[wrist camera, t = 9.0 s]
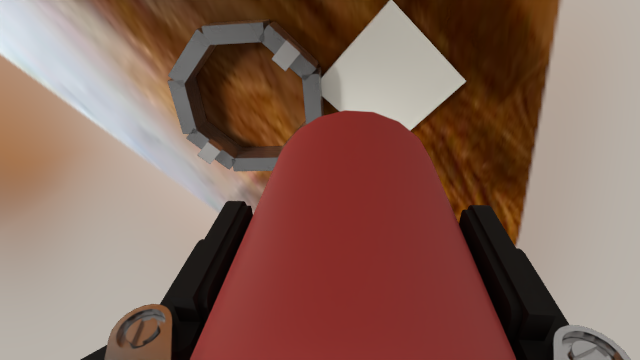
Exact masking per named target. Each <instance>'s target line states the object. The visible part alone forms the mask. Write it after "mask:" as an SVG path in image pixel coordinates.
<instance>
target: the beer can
mask: <svg viewBox="0 0 640 360" xmlns="http://www.w3.org/2000/svg"><path fill="white" fill-rule="evenodd" d="M190 360H516V357H515V355H514V353H513V350H512V348H511V346H510V343H509V341H508V339H507V336H506V334H505V332H504V329H503V327H502V325H501V322H500V320H499V318H498V315H497V313H496V311H495V308H494V306H493V304H492V301H491V299H490V297H489V294H488V292H487V289H486V287H485V285H484V282H483V280H482V278H481V275H480V273H479V271H478V268H477V266H476V264H475V261H474V259H473V257H472V254H471V252H470V250H469V247H468V245H467V243H466V240H465V238H464V236H463V233H462V231H461V229H460V226H459V224H458V222H457V219H456V217H455V215H454V212H453V210H452V208H451V205H450V203H449V201H448V198H447V196H446V194H445V191H444V189H443V187H442V184H441V182H440V179H439V177H438V175H437V172H436V170H435V168H434V165H433V163H432V161H431V159H430V157H429V155H428V153H427V152H426V150H425V148H424V146H423V145H422V143H421V141H420V139H419V138H418V137H417V136H416V135H414V134H413V133H412V132H411V131H410V130H408V129H407V128H406V127H405V126H404V125H402V124H401V123H400V122H398V121H396V120H393V119H390V118H388V117H385V116H383V115H380V114H378V113H375V112H365V111H349V110H345V111H341V112H337V113H333V114H329V115H325V116H321V117H318V118H317V119H315V120H313V121H312V122H310V123H308V124H307V125H305V126H304V127H302V128H300V129H299V130H297V131H296V133H295V134H294V135H293V136H292V138H291V139H290V140H289V141H288V143H287V144H286V145H285V146H284V148H283V149H282V151H281V153H280V155H279V158H278V160H277V162H276V165H275V167H274V169H273V171H272V174H271V176H270V178H269V180H268V183H267V185H266V187H265V190H264V192H263V194H262V196H261V199H260V201H259V203H258V206H257V208H256V210H255V212H254V215H253V217H252V219H251V221H250V224H249V226H248V228H247V231H246V233H245V235H244V237H243V240H242V242H241V244H240V246H239V249H238V251H237V253H236V256H235V258H234V260H233V262H232V265H231V267H230V269H229V271H228V274H227V276H226V278H225V281H224V283H223V285H222V287H221V290H220V292H219V294H218V296H217V299H216V301H215V303H214V306H213V308H212V310H211V312H210V315H209V317H208V319H207V322H206V324H205V326H204V328H203V331H202V333H201V335H200V337H199V340H198V342H197V344H196V347H195V349H194V351H193V353H192V356H191V358H190Z"/></svg>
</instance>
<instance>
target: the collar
mask: <svg viewBox="0 0 640 360" xmlns="http://www.w3.org/2000/svg"><path fill="white" fill-rule="evenodd" d="M252 42H262V43H263V44H264V45H265V46H266V47H267V48H268V49H270V50H271V51H272V52H273V53H274V54H275V55H274V57H273V58H272V60H273V61H274V62H276V63H277V64H278V65H279V66H280V67H281V68H282V69H283V70H285V71H286V70H287V69H288V67H290V68H291V69H292V70H293V71H294V72H295V73H296V74H298V75H299V76H300V77H301V78H302V82H303V93H304V104H305V116H306V121H305V122H304V123H303V124H302V125H301V127H300V128H302V127H304V126H305V125H307V124H308V123H310V122H312V121H313V120H315V119H317V118H318V117H321V116H324V107H323V96H322V86H321V77H322V74H321V67H317V65H318V63H319V62H318V61H317V60H316V59H315V58H314V57H313V56H312V55H311V54H310V53H309V52H308V51H306V50H305V49H304V48H303V47H302V46H301V45H300V44H299V43H298V42H297V41H296V40H295V39H294V38H292V37H291V36H290V35H289V34H288V33H287V32H286V31H285V30H284V29H283V28H282V27H281V26H280V25H279V24H277V23H276V22H275V21H274V22H272V23H270V19H262V20H246V21H231V22H215V23H210V24H207V25H204V26H202V28H199V29H197V30H196V31H195V33H194V34H193V36H192V38H191V39H190V41H189V43H188V44H187V46H186V47H185V49H184V51H183V52H182V54H181V56H180V57H179V59H178V60H177V62H176V64H175V65H174V67H173V69H172V70H171V72H170V73H169V75H168V76H169V77H170V78H172V79H170V80H168V84H169V88H170V91H171V94H172V98H173V101H174V105H175V108H176V111H177V115H178V118H179V122H180V125H181V129H182V132H183V134H189V135H188V136H187V139H188V140H189V141H191V142H192V143H193V144H195V145H196V146H198V147H199V148H200V149H202V150H201V151H200V153H199V154H198V156H199V157H201V158H202V159H203V160H205V161H206V162H208V163H209V164H211V162H212V161H213V160H214V159H215V160H217V161H218V162H219V163H221V164H222V165H223V166H225V167H226V168H228V169H230V168H231V167H232V166H233V169H234V171H273V169H274V167H275V165H276V162H277V160H278V158H279V155H280V153H281V151H282V149H283V148H284V146H285V145H286V144H287V143H288V141H289V140H290V139H291V138H292V136H293V135H294V134H295V133H296V132H295V133H294V134H293V135H292V136H291V137H290V138H289V140H288V141H287V142H286V143H285V144H284V145H283V146H266V147H241V146H240V145H238V144H237V143H236V142H234V141H233V140H232V139H231V138H229V137H228V136H227V135H225V134H224V133H223V132H221V131H220V130H219V129H218V128H216V127H215V126H214V125H212V124H211V123H210V122H208V121H207V119H206V115H205V111H204V107H203V103H202V99H201V95H200V91H199V87H198V83H197V79H196V76H197V74H198V73H199V71H200V70H201V68H202V67H203V65H204V64H205V62H206V61H207V59H208V58H209V56H210V55H211V53H212V52H213V50H214V49H215V47H216V46H217V44H235V43H252ZM300 128H299V129H300ZM299 129H298V130H299Z"/></svg>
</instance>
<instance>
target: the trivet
mask: <svg viewBox="0 0 640 360" xmlns="http://www.w3.org/2000/svg"><path fill="white" fill-rule="evenodd" d="M465 82H466V80H465V79H464V78H463V77H462V76H461V75H460V74H459V73H458V72H457V71H456V70H455V68H454V67H453V66H452V65H451V64H450V63H449V62H448V61H447V60H446V59H445V57H444V56H443V55H442V54H441V53H440V52H439V51H438V50H437V49H436V48H435V47H434V45H433V44H432V43H431V42H430V41H429V40H428V39H427V38H426V37H425V36H424V34H423V33H422V32H421V31H420V30H419V29H418V28H417V27H416V26H415V25H414V23H413V22H412V21H411V20H410V19H409V18H408V17H407V16H406V15H405V14H404V13H403V11H402V10H401V9H400V8H399V7H398V6H397V5H396V4H395V3H394V2H393V0H389V1H388V2H387V3H386V4H385V6H384V7H383V8H382V9H381V10H380V11H379V12H378V13H377V15H376V16H375V17H374V18H373V19H372V20H371V21H370V23H369V24H368V25H367V26H366V27H365V28H364V29H363V31H362V32H361V33H360V34H359V35H358V36H357V37H356V38H355V40H354V41H353V42H352V43H351V44H350V45H349V46H348V48H347V49H346V50H345V51H344V52H343V53H342V54H341V56H340V57H339V58H338V59H337V60H336V61H335V62H334V63H333V65H332V66H331V67H330V68H329V69H328V70H327V71H326V73H325V74H324V75H323V76H322V77H321V86H322V96H323V97H324V98H325V99H326V100H327V101H328V102H330V103H331V104H332V105H333V106H334V107H335V108H336V109H337V110H338V111H340V112H341V111H345V110H349V111H365V112H375V113H378V114H380V115H383V116H385V117H388V118H390V119H393V120H396V121H398V122H400V123H401V124H402V125H404V126H405V127H406V128H407V129H408V130H411V129H413V128H414V127H415V126H416V125H417V124H418V123H419V122H421V121H422V120H423V119H424V118H425V117H426V116H427V115H429V114H430V113H431V112H432V111H433V110H434V109H435V108H436V107H438V106H439V105H440V104H441V103H442V102H443V101H444V100H446V99H447V98H448V97H449V96H450V95H451V94H452V93H454V92H455V91H456V90H457V89H458V88H459V87H460V86H461V85H463V84H464V83H465Z"/></svg>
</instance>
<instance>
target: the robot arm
mask: <svg viewBox="0 0 640 360" xmlns="http://www.w3.org/2000/svg"><path fill="white" fill-rule="evenodd" d="M252 217H253V213H252V208H251V206H247V205H246V203H245V202H244V201H227V202H226V203H225V205H224V207H223V208H222V210H221V212H220V214H219V215H218V217H217V219H216V220H215V222H214V224H213V225H212V227H211V229H210V231H209V232H208V234H207V236H206V237H205V239H202V240H200V241H199V242H198V243H197V244H196V246H195V247H194V249H193V251H192V252H191V254H190V256H189V257H188V259H187V261H186V262H185V264H184V266H183V267H182V269H181V270H180V272H179V274H178V276H177V277H176V279H175V280H174V282H173V284H172V285H171V287H170V289H169V290H168V292H167V293H166V295H165V297H164V298H163V300H162V302H161V303H160V305H158V304H150V305H144V306H142V307H139V308H136V309H134V310H133V311H131V312H129V313H128V314H126V315H125V316H124V317H123V318H121V319H120V320H119V321H118V323H117V324H116V325H115V327H114V328H113V329H112V331H111V334H110V336H109V340H108V345H106V346H104V347H102V348H101V349H99V350H97V351H95V352H93V353H92V354H90V355H88V356H86V357H84V358H83V359H81V360H190V358H191V356H192V353H193V351H194V349H195V347H196V344H197V342H198V340H199V337H200V335H201V333H202V331H203V328H204V326H205V324H206V322H207V319H208V317H209V315H210V312H211V310H212V308H213V306H214V303H215V301H216V299H217V296H218V294H219V292H220V290H221V287H222V285H223V283H224V281H225V278H226V276H227V274H228V271H229V269H230V267H231V265H232V262H233V260H234V258H235V256H236V253H237V251H238V249H239V246H240V244H241V242H242V240H243V237H244V235H245V233H246V231H247V228H248V226H249V224H250V221H251V219H252ZM459 226H460V229H461V231H462V233H463V236H464V238H465V240H466V243H467V245H468V247H469V250H470V252H471V254H472V257H473V259H474V261H475V264H476V266H477V268H478V271H479V273H480V275H481V278H482V280H483V282H484V285H485V287H486V289H487V292H488V294H489V297H490V299H491V301H492V304H493V306H494V308H495V311H496V313H497V315H498V318H499V320H500V322H501V325H502V327H503V329H504V332H505V334H506V336H507V339H508V341H509V343H510V346H511V348H512V350H513V353H514V355H515V357H516V360H631V359H630V358H629V356H628V355H627V354H626V352H625V351H624V350H623V349H622V348H621V347H620V346H619V345H617V344H616V343H615V342H614V341H613V340H611V339H610V338H608V337H606V336H605V335H603V334H602V333H599V332H597V331H595V330H593V329H590V328H587V327H582V326H579V325H569V323H568V322H567V320H566V319H565V317H564V315H563V314H562V312H561V311H560V309H559V307H558V306H557V304H556V303H555V301H554V299H553V298H552V296H551V295H550V293H549V291H548V290H547V288H546V286H545V285H544V283H543V282H542V280H541V278H540V277H539V275H538V274H537V272H536V270H535V269H534V267H533V266H532V264H531V262H530V261H529V259H528V258H527V256H526V254H525V253H524V252H523V251H522V250H521V249H516V247H515V246H514V244H513V242H512V241H511V239H510V237H509V236H508V234H507V232H506V231H505V229H504V228H503V226H502V224H501V223H500V221H499V219H498V218H497V216H496V214H495V213H494V211H493V209H492V208H491V207H490V206H484V205H470V206H469V207H468V210H463V211H462V213H461V217H460V222H459Z"/></svg>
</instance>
